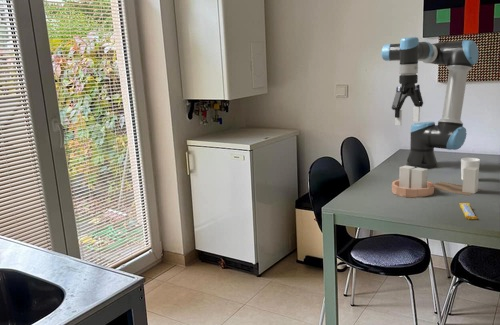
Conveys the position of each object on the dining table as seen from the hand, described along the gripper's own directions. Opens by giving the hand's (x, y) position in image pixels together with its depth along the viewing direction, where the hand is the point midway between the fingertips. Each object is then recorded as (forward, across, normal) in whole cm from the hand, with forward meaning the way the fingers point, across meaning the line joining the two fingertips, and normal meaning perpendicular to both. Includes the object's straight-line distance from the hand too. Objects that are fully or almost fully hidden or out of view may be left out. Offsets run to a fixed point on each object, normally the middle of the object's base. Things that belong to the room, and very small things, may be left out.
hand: (407, 123), depth 202 cm
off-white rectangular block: (+28, -7, -11) cm, 31 cm away
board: (+29, +8, -18) cm, 35 cm away
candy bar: (+29, -16, -37) cm, 50 cm away
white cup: (+29, +26, -16) cm, 42 cm away
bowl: (+29, -7, -8) cm, 31 cm away
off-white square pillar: (+28, +8, -26) cm, 39 cm away
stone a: (+28, -7, -5) cm, 29 cm away
